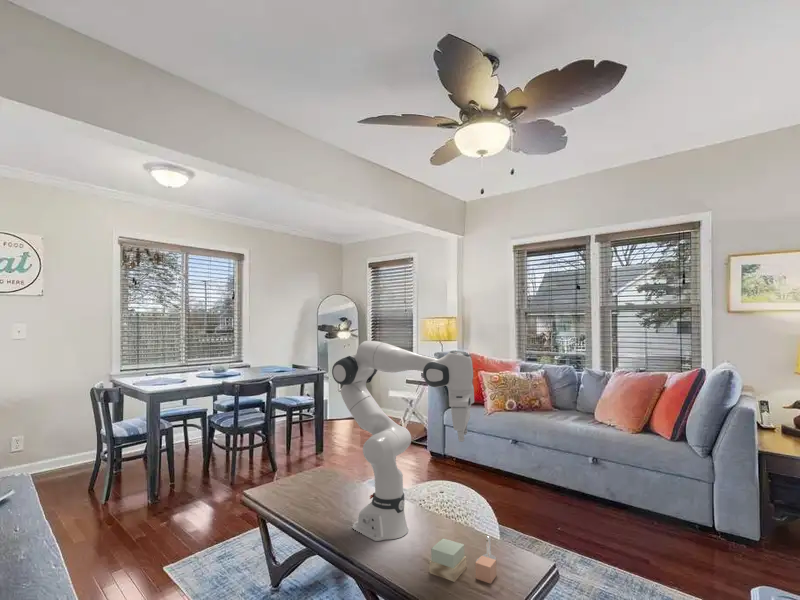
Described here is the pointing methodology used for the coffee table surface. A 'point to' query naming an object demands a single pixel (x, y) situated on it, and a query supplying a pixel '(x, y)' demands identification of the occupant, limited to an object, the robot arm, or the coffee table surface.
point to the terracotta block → (486, 569)
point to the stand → (488, 549)
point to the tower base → (448, 570)
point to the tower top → (447, 553)
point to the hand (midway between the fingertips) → (463, 437)
